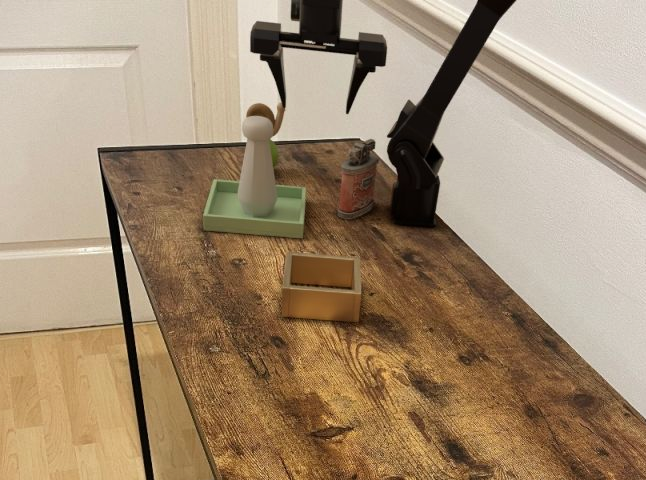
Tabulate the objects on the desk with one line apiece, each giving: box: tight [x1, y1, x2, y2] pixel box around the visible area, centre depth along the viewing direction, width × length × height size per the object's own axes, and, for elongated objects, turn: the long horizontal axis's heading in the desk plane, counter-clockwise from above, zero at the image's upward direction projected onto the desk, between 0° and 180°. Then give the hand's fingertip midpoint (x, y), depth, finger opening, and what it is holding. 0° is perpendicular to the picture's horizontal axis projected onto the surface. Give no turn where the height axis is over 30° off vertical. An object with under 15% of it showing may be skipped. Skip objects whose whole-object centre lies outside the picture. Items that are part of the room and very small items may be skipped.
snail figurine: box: [245, 102, 286, 169], centre depth 125 cm, size 5×6×12 cm
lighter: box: [337, 138, 380, 220], centre depth 118 cm, size 8×3×10 cm, turn 148°
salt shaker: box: [238, 116, 277, 217], centre depth 112 cm, size 6×6×13 cm
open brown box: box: [281, 251, 362, 323], centre depth 99 cm, size 10×10×4 cm
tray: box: [202, 178, 307, 239], centre depth 116 cm, size 14×13×2 cm
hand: (315, 110), depth 114 cm, fingers open, 9 cm apart
